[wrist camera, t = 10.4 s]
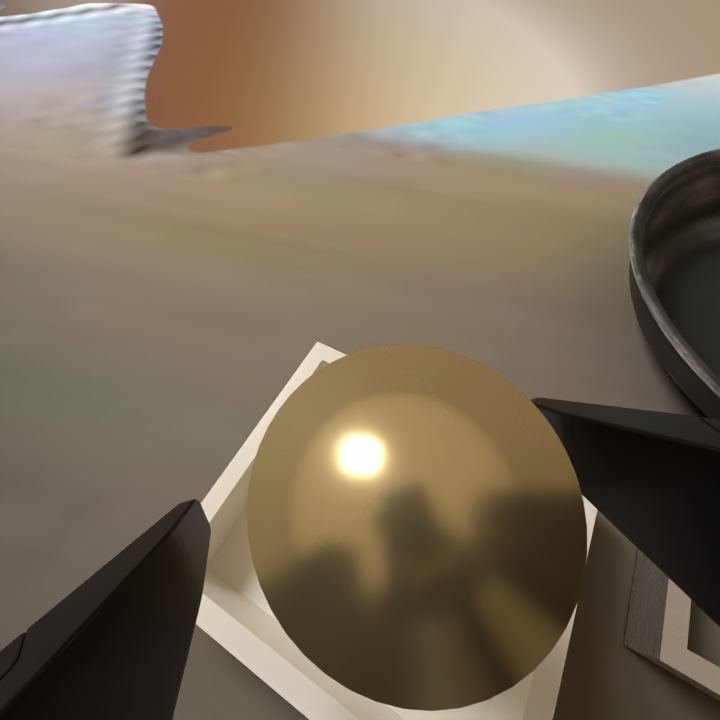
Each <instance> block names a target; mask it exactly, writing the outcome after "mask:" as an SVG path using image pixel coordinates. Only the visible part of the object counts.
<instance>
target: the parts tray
mask: <svg viewBox="0 0 720 720" xmlns="http://www.w3.org/2000/svg"><path fill="white" fill-rule="evenodd" d="M344 356H346V355H345V354H343V353H341V352H339V351H336V350H334V349H332V348H330V347H328V346H326V345H324V344H322V343H319V342H317V343H316V344H315V346H314V347H313V348H312V350H311V351H310V353H309V354H308V355H307V357H306V358H305V360H304V361H303V362H302V364H301V365H300V366H299V368H298V369H297V371H296V372H295V373H294V375H293V376H292V378H291V379H290V380H289V382H288V383H287V385H286V386H285V387H284V389H283V390H282V392H281V393H280V394H279V396H278V397H277V398H276V400H275V401H274V403H273V404H272V405H271V407H270V408H269V410H268V411H267V412H266V414H265V415H264V417H263V418H262V419H261V421H260V422H259V424H258V425H257V426H256V428H255V429H254V430H253V432H252V433H251V435H250V436H249V437H248V439H247V440H246V442H245V443H244V444H243V446H242V447H241V449H240V450H239V451H238V453H237V454H236V456H235V457H234V458H233V460H232V461H231V462H230V464H229V465H228V467H227V468H226V469H225V471H224V472H223V474H222V475H221V476H220V478H219V479H218V481H217V482H216V483H215V485H214V486H213V488H212V489H211V490H210V492H209V493H208V495H207V496H206V497H205V499H204V500H203V501H202V503H201V506H202V508H203V510H204V513H205V515H206V517H207V519H208V522H209V524H210V528H211V537H210V544H209V552H208V559H207V566H206V574H205V581H204V588H203V594H202V599H201V603H200V608H199V612H198V616H197V620H196V624H197V625H198V626H199V627H200V628H202V629H203V630H204V631H205V632H206V633H207V634H209V635H210V636H211V637H212V638H213V639H215V640H216V641H217V642H218V643H219V644H220V645H222V646H223V647H224V648H225V649H226V650H228V651H229V652H230V653H231V654H232V655H233V656H235V657H236V658H237V659H238V660H239V661H241V662H242V663H243V664H244V665H245V666H246V667H248V668H249V669H250V670H251V671H252V672H254V673H255V674H256V675H257V676H258V677H259V678H261V679H262V680H263V681H264V682H265V683H267V684H268V685H269V686H270V687H271V688H272V689H274V690H275V691H276V692H277V693H278V694H280V695H281V696H282V697H283V698H284V699H285V700H287V701H288V702H289V703H290V704H291V705H293V706H294V707H295V708H296V709H297V710H298V711H300V712H301V713H302V714H303V715H304V716H306V717H307V718H308V719H309V720H553V716H554V712H555V707H556V702H557V697H558V693H559V688H560V683H561V679H562V674H563V669H564V664H565V660H566V655H567V650H568V646H569V641H570V636H571V631H572V627H573V622H574V617H575V613H576V608H577V605H576V607H575V610H574V612H573V614H572V617H571V619H570V621H569V623H568V626H567V628H566V630H565V631H564V633H563V634H562V636H561V637H560V639H559V640H558V642H557V644H556V645H555V647H554V648H553V650H552V651H551V652H550V653H549V654H548V655H547V657H546V658H545V659H544V660H543V661H542V662H541V663H540V664H539V665H538V666H537V668H536V669H535V670H534V671H533V672H531V673H530V674H529V675H527V676H526V677H525V678H524V679H522V680H521V681H520V682H518V683H517V684H516V685H514V686H513V687H512V688H510V689H508V690H506V691H504V692H502V693H500V694H498V695H496V696H494V697H492V698H490V699H489V700H486V701H483V702H479V703H476V704H473V705H469V706H466V707H463V708H457V709H448V710H438V711H424V710H411V709H402V708H398V707H394V706H390V705H386V704H383V703H379V702H375V701H373V700H371V699H369V698H366V697H364V696H362V695H360V694H357V693H355V692H353V691H351V690H349V689H347V688H346V687H344V686H343V685H341V684H340V683H338V682H336V681H335V680H333V679H332V678H330V677H329V676H327V675H326V674H324V673H323V672H322V671H321V670H320V669H319V668H318V667H317V666H316V665H314V664H313V663H312V662H311V661H310V660H309V659H308V658H307V657H306V656H304V655H303V653H302V652H301V651H300V650H299V649H298V647H297V646H296V645H295V644H294V643H293V641H292V640H291V639H290V638H289V637H288V635H287V634H286V633H285V631H284V630H283V628H282V627H281V625H280V623H279V622H278V620H277V619H276V617H275V615H274V614H273V612H272V611H271V609H270V607H269V604H268V602H267V600H266V598H265V595H264V593H263V591H262V589H261V587H260V584H259V581H258V578H257V574H256V571H255V568H254V564H253V561H252V556H251V550H250V545H249V539H248V528H247V500H248V487H249V482H250V477H251V472H252V467H253V463H254V460H255V457H256V454H257V451H258V448H259V445H260V443H261V441H262V439H263V436H264V434H265V432H266V430H267V428H268V426H269V424H270V423H271V421H272V419H273V418H274V416H275V414H276V413H277V411H278V410H279V408H280V407H281V406H282V405H283V403H284V402H285V401H286V400H287V398H288V397H289V396H290V395H291V394H292V393H293V392H294V391H295V390H296V389H297V388H298V387H299V386H300V385H301V384H302V383H303V382H304V381H305V380H306V379H308V378H309V377H310V376H312V375H313V374H314V373H315V372H317V371H318V370H320V369H321V368H323V367H325V366H326V365H328V364H330V363H331V362H333V361H335V360H337V359H339V358H342V357H344ZM582 498H583V501H584V508H585V516H586V523H587V556H588V551H589V547H590V542H591V537H592V532H593V528H594V523H595V518H596V513H597V509H596V508H595V507H594V506H593V505H592V504H591V503H590V502H589V501H588V500H587V499H586V498H585V497H584V496H583V495H582ZM586 561H587V559H586Z"/></svg>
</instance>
